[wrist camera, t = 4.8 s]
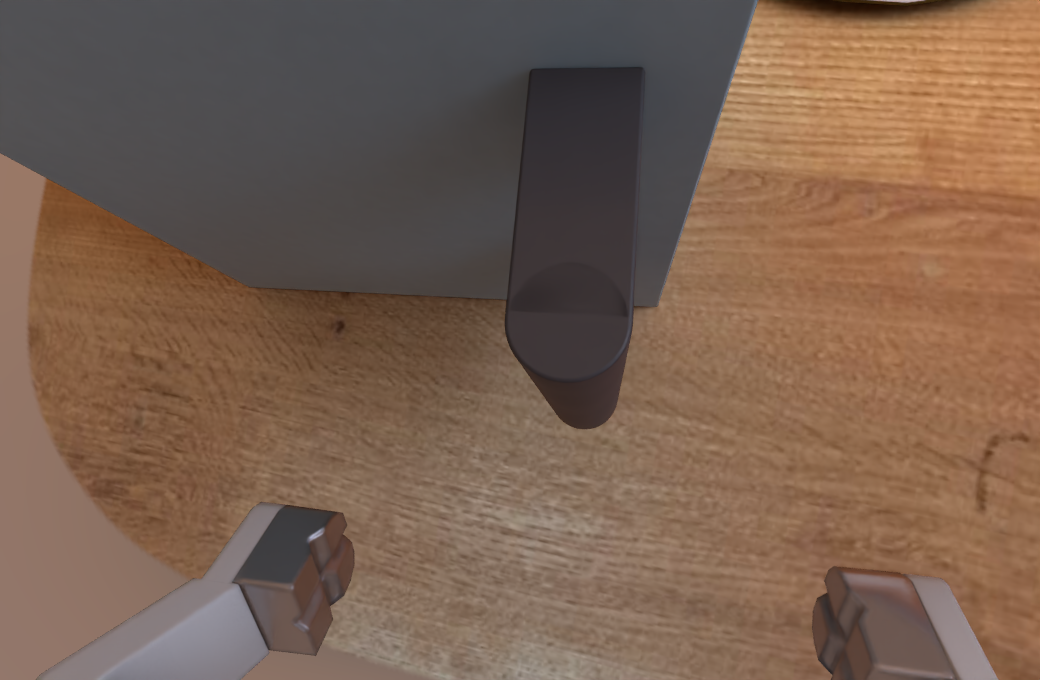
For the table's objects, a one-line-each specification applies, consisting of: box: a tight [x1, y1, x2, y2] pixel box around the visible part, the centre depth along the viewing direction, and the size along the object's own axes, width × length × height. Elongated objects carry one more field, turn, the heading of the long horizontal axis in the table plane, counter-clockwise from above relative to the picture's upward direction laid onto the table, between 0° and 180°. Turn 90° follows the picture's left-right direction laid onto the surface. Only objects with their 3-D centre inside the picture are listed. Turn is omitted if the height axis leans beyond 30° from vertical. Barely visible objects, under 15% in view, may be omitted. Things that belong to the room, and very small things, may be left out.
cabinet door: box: [0, 0, 758, 429], centre depth 15 cm, size 6×18×20 cm, turn 85°
